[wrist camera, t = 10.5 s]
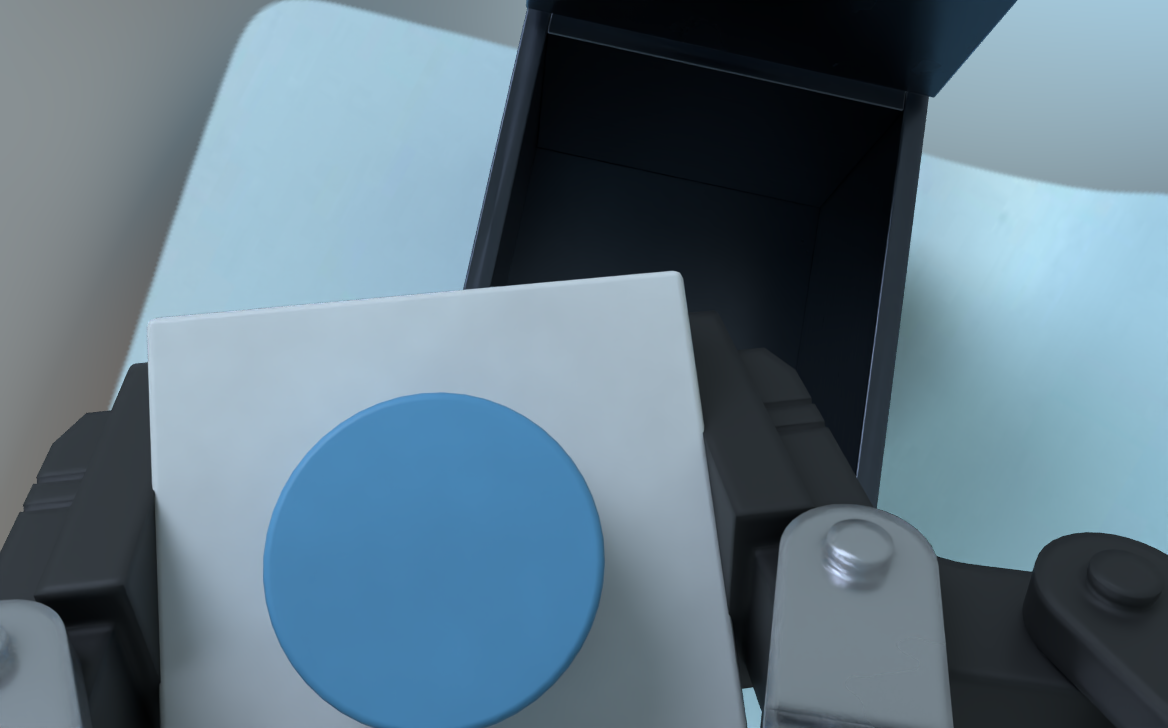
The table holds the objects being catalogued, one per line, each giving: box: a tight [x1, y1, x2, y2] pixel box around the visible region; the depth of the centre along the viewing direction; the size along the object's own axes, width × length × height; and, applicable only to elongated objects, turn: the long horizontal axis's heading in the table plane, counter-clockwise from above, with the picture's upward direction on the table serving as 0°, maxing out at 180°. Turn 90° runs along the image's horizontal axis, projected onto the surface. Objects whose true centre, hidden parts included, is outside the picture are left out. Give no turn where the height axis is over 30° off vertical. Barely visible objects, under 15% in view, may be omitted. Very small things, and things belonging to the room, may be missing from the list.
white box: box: [147, 271, 747, 728], centre depth 12 cm, size 5×5×8 cm
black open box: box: [463, 8, 929, 509], centre depth 37 cm, size 15×14×10 cm
